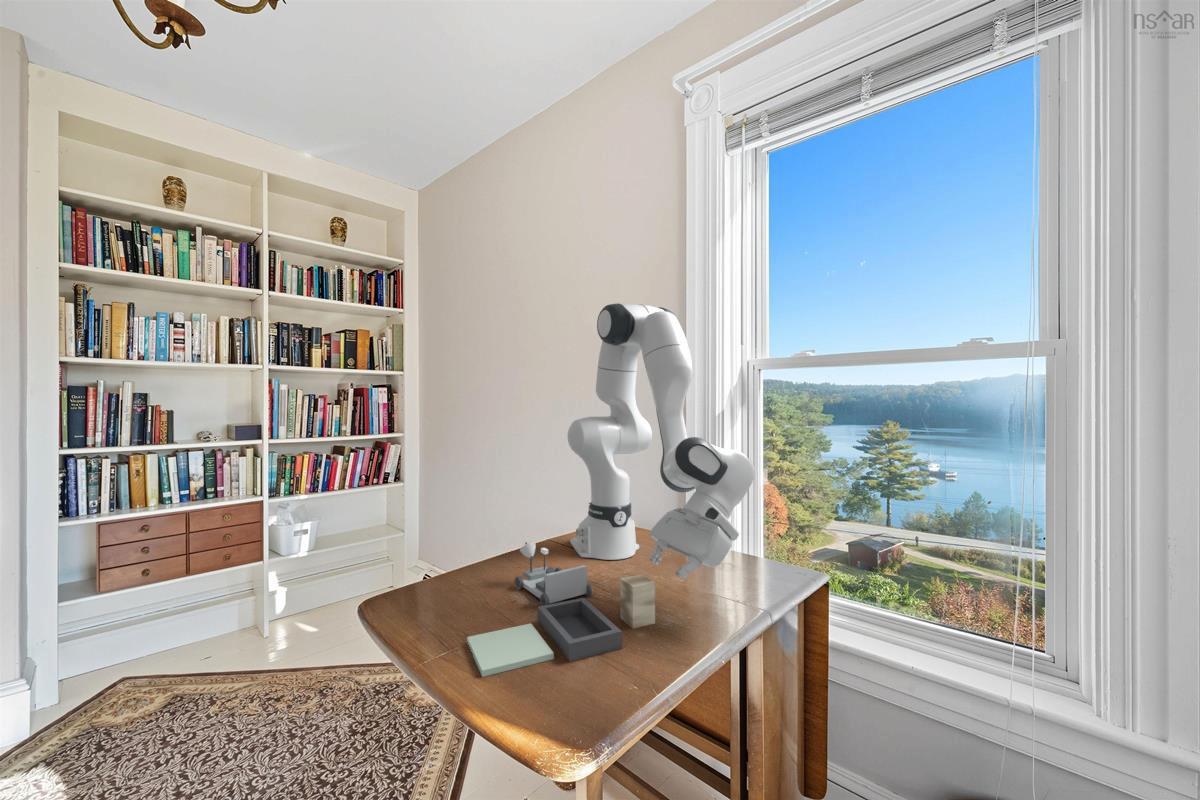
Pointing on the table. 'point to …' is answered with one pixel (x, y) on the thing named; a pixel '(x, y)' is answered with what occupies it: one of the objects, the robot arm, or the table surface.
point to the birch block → (637, 601)
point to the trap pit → (579, 629)
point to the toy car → (553, 580)
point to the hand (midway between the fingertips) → (665, 569)
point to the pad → (508, 649)
